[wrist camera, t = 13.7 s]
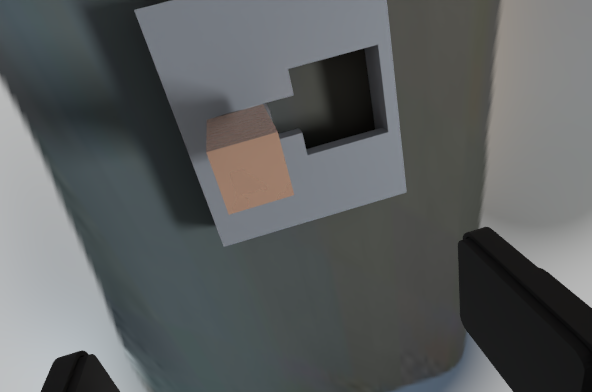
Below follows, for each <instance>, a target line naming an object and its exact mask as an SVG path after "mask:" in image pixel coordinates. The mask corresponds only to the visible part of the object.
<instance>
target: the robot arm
mask: <svg viewBox="0 0 592 392" xmlns="http://www.w3.org/2000/svg"><path fill="white" fill-rule="evenodd" d="M458 261H459V293H460V317H461V321H462V323H463V325H464V327H465V329H466V330H467V332H468V333H469V334H470V336H471V337H472V338H473V339H474V341H475V342H476V343H477V345H478V346H479V347H480V349H481V350H482V351H483V352H484V354H485V355H486V357H487V358H488V359H489V361H490V362H491V363H492V364H493V366H494V367H495V368H496V370H497V371H498V372H499V374H500V375H501V376H502V377H503V379H504V380H505V381H506V383H507V384H508V385H509V387H510V388H511V389H512V391H513V392H592V308H591V307H589V306H588V305H587V304H585V302H583V301H582V300H581V299H580V298H578V297H577V296H576V295H575V294H573V293H572V292H571V291H570V290H568V289H567V288H566V287H565V286H564V285H563V284H561V283H560V282H559V281H558V280H557V279H555V278H554V277H553V276H552V275H550V274H549V273H548V272H546V271H545V270H543V269H541V268H538V267H537V266H535V265H534V264H533V263H532V262H531V261H529V260H528V259H527V258H526V257H525V256H523V255H522V254H521V253H520V252H519V251H517V250H516V249H515V248H514V247H513V246H511V245H510V244H509V243H508V242H506V241H505V240H504V239H503V238H502V237H500V236H499V235H498V234H497V233H496V232H494V231H493V230H492V229H491V228H489V227H484V228H480V229H477V230H474V231H471V232H467V233H465V234H464V236H463V240H461V241H459V243H458ZM41 392H120V391H119V389H118V388H117V386H116V385H115V384H114V382H113V381H112V379H111V378H110V376H109V375H108V373H107V372H106V370H105V369H104V367H103V366H102V365H101V363H100V362H99V360H98V359H97V357H96V356H95V355H93V354H91V355H88V353H87V352H85V351H79V352H75V353H72V354H69V355H66V356H62V357H59V358H57V359H56V360H55V361H54V363H53V365H52V367H51V369H50V371H49V374H48V376H47V378H46V381H45V383H44V385H43V388H42V390H41Z"/></svg>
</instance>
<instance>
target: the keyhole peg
mask: <svg viewBox="0 0 592 392" xmlns="http://www.w3.org/2000/svg"><path fill="white" fill-rule="evenodd" d="M206 153H207V156H208V159H209V161H210V164H211V167H212V170H213V172H214V175H215V178H216V181H217V184H218V186H219V189H220V192H221V195H222V197H223V200H224V203H225V206H226V208H227V211H228V214H229V215H230V214H233V213H236V212H240V211H243V210H246V209H250V208H253V207H256V206H260V205H263V204H266V203H270V202H273V201H276V200H280V199H283V198H286V197H290V196H293V195H294V192H293V188H292V184H291V180H290V176H289V173H288V169H287V165H286V161H285V157H284V154H283V150H282V146H281V142H280V138H279V135H278V131H277V130H276V128H275V126H274V124H273V122H272V116H271V112H270V109H269V107H268V105H267V104H266V103H264V104H260V105H257V106H253V107H249V108H246V109H242V110H238V111H235V112H231V113H228V114H224V115H220V116H217V117H215V118H212V119H208V120H207V136H206Z"/></svg>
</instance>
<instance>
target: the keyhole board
mask: <svg viewBox="0 0 592 392" xmlns="http://www.w3.org/2000/svg"><path fill="white" fill-rule="evenodd" d="M134 11H135V14H136V16H137V19H138V22H139V24H140V27H141V30H142V32H143V35H144V38H145V40H146V43H147V45H148V48H149V51H150V53H151V56H152V59H153V61H154V64H155V66H156V69H157V72H158V74H159V77H160V80H161V82H162V85H163V88H164V90H165V93H166V95H167V98H168V101H169V103H170V106H171V109H172V111H173V114H174V117H175V119H176V122H177V124H178V127H179V130H180V132H181V135H182V138H183V140H184V143H185V145H186V148H187V151H188V153H189V156H190V159H191V161H192V164H193V167H194V169H195V172H196V174H197V177H198V180H199V182H200V185H201V188H202V190H203V193H204V195H205V198H206V201H207V203H208V206H209V209H210V211H211V214H212V217H213V219H214V222H215V224H216V227H217V230H218V232H219V235H220V238H221V240H222V243H223V246H224V247H225V246H228V245H231V244H235V243H238V242H241V241H245V240H248V239H252V238H255V237H258V236H262V235H265V234H268V233H272V232H275V231H278V230H282V229H285V228H288V227H292V226H295V225H298V224H302V223H305V222H309V221H312V220H315V219H319V218H322V217H325V216H329V215H332V214H335V213H339V212H342V211H345V210H349V209H352V208H355V207H359V206H362V205H366V204H369V203H372V202H376V201H379V200H382V199H386V198H389V197H392V196H396V195H399V194H402V193H406V192H407V191H406V182H405V172H404V162H403V153H402V143H401V133H400V124H399V114H398V105H397V95H396V85H395V76H394V66H393V56H392V47H391V37H390V27H389V18H388V8H387V0H171V1H167V2H163V3H159V4H156V5H152V6H148V7H144V8H140V9H136V10H134ZM363 48H364V50H365V57H366V65H367V72H368V79H369V87H370V94H371V102H372V109H373V117H374V124H375V130H372V131H368V132H365V133H361V134H358V135H354V136H351V137H347V138H344V139H340V140H337V141H333V142H330V143H326V144H323V145H319V146H316V147H312V148H309V149H306V147H305V142H304V138H303V133H302V132H301V130H300V129H299V128H297V129H293V130H290V131H286V132H283V133H279V134H278V135H279V138H280V142H281V146H282V150H283V154H284V157H285V161H286V165H287V169H288V173H289V176H290V180H291V184H292V188H293V192H294V195H293V196H290V197H286V198H283V199H280V200H276V201H273V202H270V203H266V204H263V205H260V206H256V207H253V208H250V209H246V210H243V211H240V212H236V213H233V214H230V215H229V214H228V211H227V208H226V206H225V203H224V200H223V197H222V195H221V192H220V189H219V186H218V184H217V181H216V178H215V175H214V172H213V170H212V167H211V164H210V161H209V159H208V156H207V153H206V136H207V120H208V119H212V118H215V117H217V116H220V115H224V114H228V113H231V112H235V111H238V110H242V109H246V108H249V107H253V106H257V105H260V104H264V103H268V102H271V101H275V100H278V99H282V98H286V97H289V96H293V95H294V94H293V89H292V85H291V81H290V76H289V72H288V69H290V68H293V67H297V66H301V65H304V64H308V63H312V62H315V61H319V60H323V59H327V58H330V57H334V56H338V55H341V54H345V53H349V52H352V51H356V50H360V49H363Z"/></svg>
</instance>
